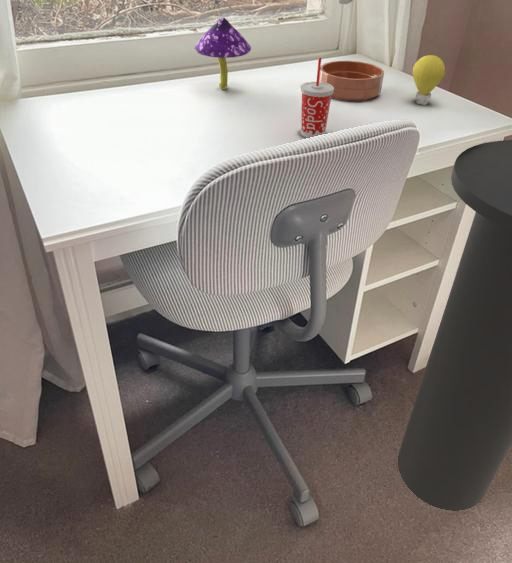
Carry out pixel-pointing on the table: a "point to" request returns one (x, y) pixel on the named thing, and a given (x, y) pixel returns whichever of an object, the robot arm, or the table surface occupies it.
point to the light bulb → (427, 76)
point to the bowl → (352, 79)
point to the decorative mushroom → (222, 46)
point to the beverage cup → (315, 106)
